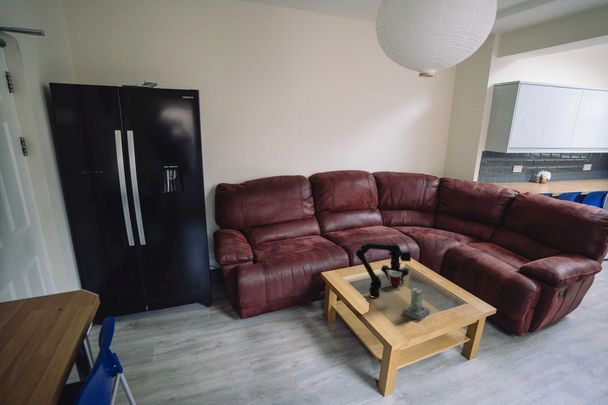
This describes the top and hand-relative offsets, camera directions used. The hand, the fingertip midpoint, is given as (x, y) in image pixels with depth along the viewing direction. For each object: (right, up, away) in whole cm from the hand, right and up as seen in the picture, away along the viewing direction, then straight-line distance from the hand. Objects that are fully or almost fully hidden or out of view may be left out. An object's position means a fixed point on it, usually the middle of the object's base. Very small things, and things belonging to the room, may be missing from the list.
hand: (394, 281), depth 210 cm
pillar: (+8, -14, -20) cm, 25 cm away
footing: (+8, -16, -20) cm, 27 cm away
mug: (+7, -10, +19) cm, 22 cm away
